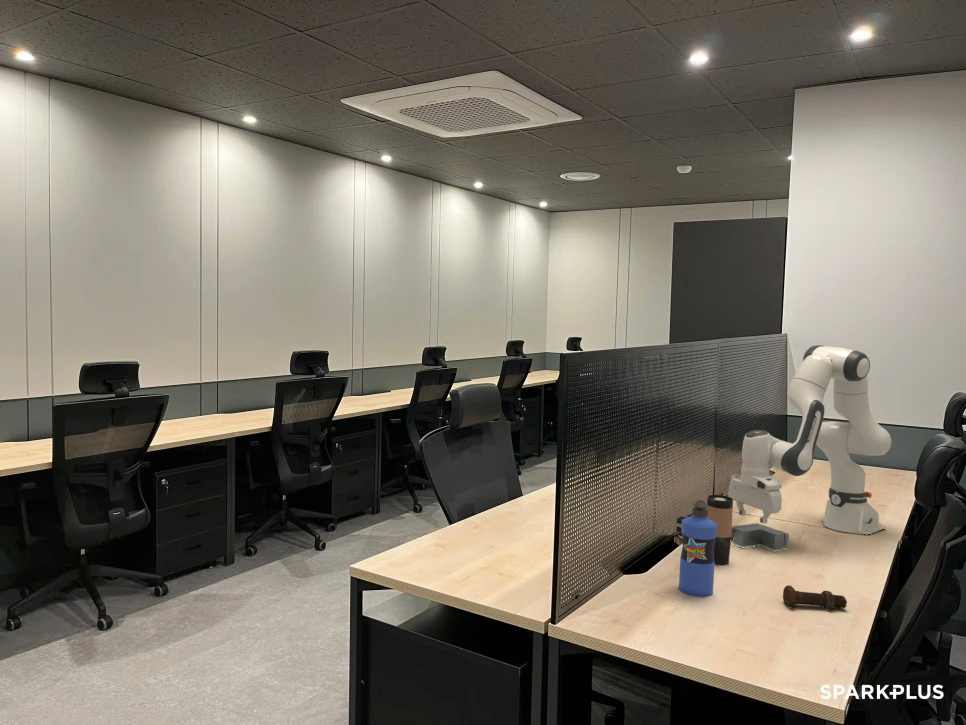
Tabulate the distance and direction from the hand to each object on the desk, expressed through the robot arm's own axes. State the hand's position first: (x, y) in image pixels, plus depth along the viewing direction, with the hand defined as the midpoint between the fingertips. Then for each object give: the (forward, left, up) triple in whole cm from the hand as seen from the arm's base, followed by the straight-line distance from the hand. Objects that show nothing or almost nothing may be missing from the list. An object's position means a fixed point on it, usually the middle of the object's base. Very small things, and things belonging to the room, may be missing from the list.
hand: (752, 519), depth 233 cm
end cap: (+13, -13, -9) cm, 21 cm away
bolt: (+25, +46, -9) cm, 53 cm away
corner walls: (-1, 0, -8) cm, 8 cm away
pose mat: (0, +4, -8) cm, 9 cm away
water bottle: (+47, +26, -9) cm, 55 cm away
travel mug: (+24, +10, -9) cm, 28 cm away
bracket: (0, +3, -8) cm, 9 cm away
